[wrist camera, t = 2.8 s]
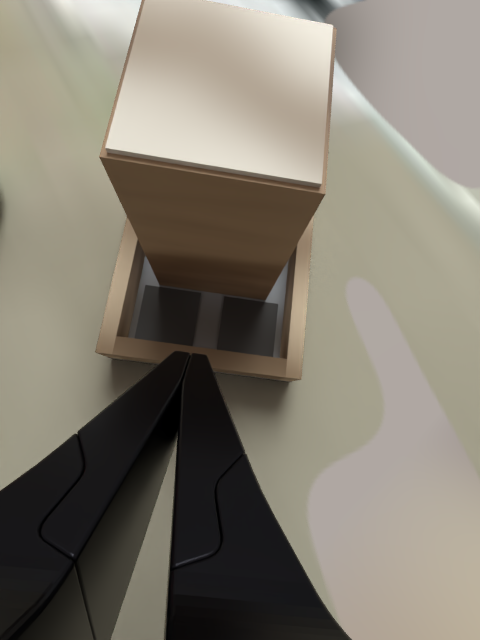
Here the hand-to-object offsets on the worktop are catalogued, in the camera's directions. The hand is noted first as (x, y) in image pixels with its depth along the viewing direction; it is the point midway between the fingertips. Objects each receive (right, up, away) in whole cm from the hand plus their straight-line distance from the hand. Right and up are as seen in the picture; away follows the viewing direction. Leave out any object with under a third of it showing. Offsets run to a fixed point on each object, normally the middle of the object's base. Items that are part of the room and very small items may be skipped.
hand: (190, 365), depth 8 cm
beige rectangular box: (0, +5, +9) cm, 10 cm away
